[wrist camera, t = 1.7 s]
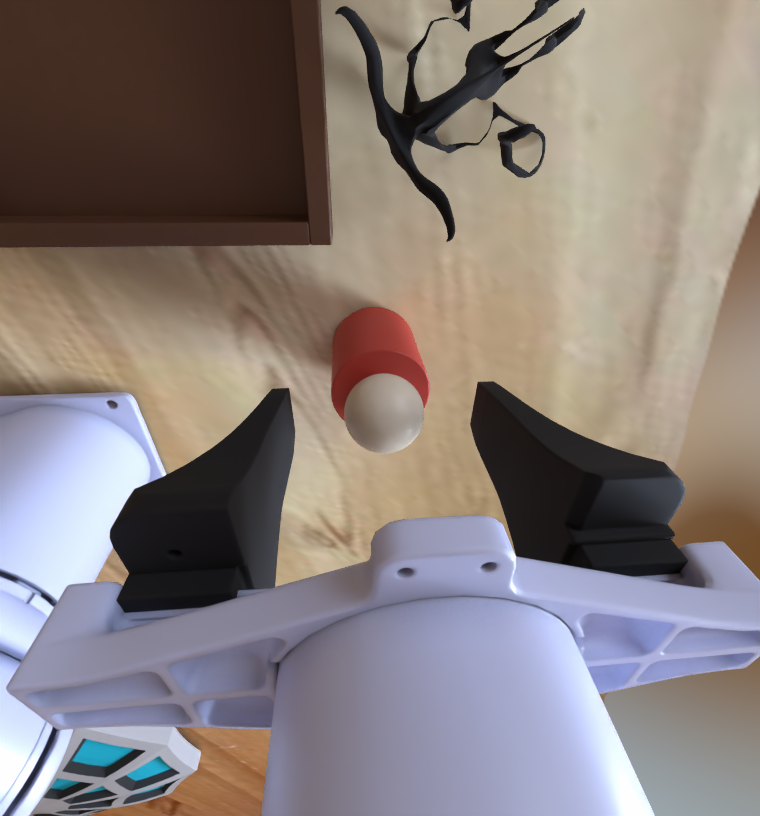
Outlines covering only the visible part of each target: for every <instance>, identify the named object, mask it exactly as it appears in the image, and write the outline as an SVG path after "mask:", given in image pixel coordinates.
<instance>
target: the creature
mask: <svg viewBox="0 0 760 816" xmlns="http://www.w3.org/2000/svg"><path fill="white" fill-rule="evenodd" d="M471 1H472V0H451V3H452V10H453V11H454V12H455V14H456V13H459V12H460V11H461V10H462V9H463V8H464V7H465V6H467V7H466V11H465V15H464V16H463V17H462V18H460V19H459V20H455V19H453V20H455V21H457V22H460V23H461V24H462V25H463V26H464V28H466V29H467V30H468V31H469V29H470V7H471ZM558 1H559V0H537V1H536V2H535V9H534V10H533V11H532V13H531V14H530V15H529V16H528V17H527V18H526V19H525V20H524V21H523V22H522V23H520V24H519V25H518V26H517V27H516V28H514V29H513V30H511V31H504V32H502V33H500V34H498V35H495V36H493V37H491V38H489V39H486V40H484V41H481V42H479V43H477V44H475V45H474V46H473V47H472V49H471V50H470V51H469V53H468V56H467V58H466V63H465V66H466V74H465V76H464V77H463V78H462V79H461V80H460V82H459V83H458V84H457V85H456V86H454V87H453V88H451V89H450V90H448V91H447V92H445V93H443V94H441V95H439V96H437V97H435V98H433V99H431V100H429V101H425V102H421V101H420V98H419V96H418V94H417V91H416V88H415V84H414V68H415V64H416V60H417V54H418V52H419V51H420V49H421V47H422V46H423V44H424V42H425V41H426V38H427V35H428V32H429V30H430V27H431V25H432V24H433V23H434V21H439V20H444V19H451V18H448V17H442V18H439V19H437V20H434V21H431V22H430V24H429V27H428V29H427V32H426V34H425V36H424V38H423V39H422V40H421V41H420V42H419V43H418V44H417V45H416V46H415V47H414V48H413V49H412V50H411V51H410V52H409V54H408V56H407V61H408V62H409V70H408V78H407V85H406V91H405V98H404V109H403V113H402V114H401V113H399V112H397V111H395V110H394V109H393V108H392V107H391V106H390V105H389V104H388V102H387V101H386V99H385V97H384V92H383V68H382V60H381V55H380V51H379V49H378V46H377V43H376V40H375V39H374V37H373V36H372V34H371V33H370V31H369V29H368V28H367V26H366V25H365V23H364V22H363V21H362V20H361V18H360V17H359V16H358V15H357V13H356V12H355V11H353V10H352V9H350V8H348V7H347V6H343V7H340V8H339V9H338V10H337V11H336V13H335V14H341V15H343V16H344V17H345V18H346V19H347V20H348V21H349V23H350V24H351V26H352V27H353V29H354V30H355V32H356V34H357V36H358V38H359V40H360V42H361V44H362V47H363V50H364V52H365V55H366V60H367V74H368V84H369V88H370V92H371V95H372V99H373V103H374V107H375V111H376V118H377V126H378V129H379V131H380V133H381V134H382V136H384V137H385V138H386V139H387V141H388V143H389V145H390V149H391V153H392V155H393V157H394V159H395V160H396V162H397V163H398V164H399V165H400V166H401V167H402V168H403V169H404V170H405V171H406V172H407V174H408V175H409V177H410V178H411V180H412V182H413V183H414V184H415V186H416V187H417V189H418V190H419V191H420V192H421V193H423V194H424V195H425V196H426V197H427V198H429V199H430V200H431V201H432V202H433V203H434V204H435V205H436V207H437V208H438V210H439V211H440V213H441V215H442V217H443V219H444V222H445V224H446V227H447V232H448V239H447V242H448V241H450V240H452V239H453V237H454V234H455V224H454V218H453V214H452V211H451V207H450V204H449V201H448V198H447V197H446V195H445V194H444V192H443V191H442V190H441V189H440V188H439V187H438V186H437V185H435V184H434V183H432V182H431V181H430V180H428V179H427V178H425V177H424V176H423V175H422V174H421V173H420V172H419V170H418V169H417V167H416V165H415V163H414V161H413V158H412V155H411V147H412V145H413V142H414V140H415V139H416V140H419V141H421V142H423V143H424V144H427V145H430V146H432V147H435V148H437V149H440V150H443V151H446V152H447V153H451V152H453V151H455V150H457V149H459V148H462V147H464V146H467V145H479V143H480V142H481V141H482V140H483V139H484V138H485V137H486V135H487V133H488V132H487V133H486V134H485V136H484V137H483V138H482V140H481V141H480V142H479V143H458V144H453V145H451V144H450V145H448V146H445V145H442V144H441V143H440V142H439V140H438V139H437V137H436V135H435V131H436V130H437V128H438V127H439V126H440V125H441V124H442V123H443V122H444V121H445V120H447V119H448V118H449V117H450V116H451V115H452V114H453V113H455V112H456V111H457V110H458V109H460V108H461V107H462V106H463V105H465V104H466V103H468V102H469V101H470V100H472V99H474V98H475V97H477V98H478V99H480V100H486V99H488V98H490V97H492V96H493V95H494V94H495V93H496V92H497V91H498V89H499V88H500V87H501V86H502V85H503V84H504V83H505V82H507V81H508V80H510V79H511V78H512V77H514V76H515V75H516V74H517V73H518V72H519V70H520V69H521V67H522V66H523V65H525V64H527V63H529V62H531V61H532V60H534V59H536V58H538V57H540V56H543V55H546V54H548V53H550V52H551V51H552V50H553V49H554V48H555V47H556V46H558V45H559V44H560V43H561V42H563V41H564V40H565V39H566V38H567V37H568V36H569V35H570V34H571V33H573V32H574V31H575V30H576V29H577V28H578V27H579V26H580V24H581V21H582V19H583V16H584V14H585V10H584V8H583V9H582V10H581V11H580V12H579V15H578V16H577V17H576V18H575V19H574V17H573V18H572V19H570V20H569V21H567V22H565V23H564V24H562V25H561V26H559V27H558V28H556V29H555V30H553V31H551V32H550V33H548V34H547V35H545V36H543V37H542V38H540V39H538V40H537V41H535V42H534V43H532V44H530V45H529V46H527V47H525V48H524V49H522V50H523V51H522V50H520V51H518V52H516V53H513V54H511V55H509V56H506V57H503V56H500V55H498V54H497V53H496V52H495V51H494V50H496V49H497V48H498V47H499V46H500V45H501V44H502V43H504V42H505V40H506V39H507V38H509V37H510V36H511V35H512V34H513V33H514V32H515V31H516V30H518V29H519V28H521V27H523V26H524V25H526V24H528V23H530V22H532V21H534V20H536V19H538V18H539V17H541V16H542V15H543V14H545V13H546V12H547V10H548V8H549V7H551V6H552V5H553V4H555V3H556V2H558ZM562 26H563V27H562ZM559 28H560V29H559ZM558 29H559V30H558ZM556 30H557V31H556ZM555 31H556V32H555ZM553 32H555V33H553ZM552 33H553V34H552ZM550 34H552V35H551V36H549V35H550ZM547 36H549V37H548V38H547V39H546V41H545V45H544V46H543V47H542V48H541V49H540V50H539V51H538V52H537V53H536V54H535V55H534V56H533V57H531V58H530V59H529V60H527V61H526V62H524V63H522V64H520V65H517V66H514V67H510V68H506V69H504V67H505V65H506V64H507V63H508V62H510V61H511V60H513V59H514V58H515V57H517V56H518V55H520V54H521V53H523V52H524V51H526V50H527V49H529V48H530V47H532V46H533V45H535V44H536V43H538V42H539V41H541V40H542V39H544V38H546V37H547ZM498 116H502V117H504V118H506V119H508V120H510V121H511V122H513V123H515V124H516V125H518V127H515V128H513V129H510V130H509V131H506V132H500V133H498V140H499V141H500V147H501V158H502V164H503V166H504V167H506V168H507V169H508V170H510V171H511V172H512V173H514V174H515V175H516V176H518V177H522V178H526V177H530V176H532V175H533V174H535V173H536V172H537V170H538V169H539V167H540V166H541V163H542V161H543V158H544V153H545V136H544V134H543V133H542V132H541V131H540V130H539V129H536V127H535V125H534V124H523V123H521V122H518V121H516V120H514V119H513V118H511V117H510V116H509V115H508V114H506V113H505V112H504V111H503V110H502V109H500V108H499V107H498V105H497V104H496V103H495V102H493V118H492V121H493V120H494V119H495V118H496V117H498ZM491 124H492V122H491ZM490 127H491V125H490ZM489 129H490V128H489ZM488 131H489V130H488ZM531 132H535V133H538V134H539V136H540V137H541V139H542V142H543V146H542V156H541V159H540V162H539V164H538V166H536V167H535V168H534V169H533V170H532V171H531V172H530V173H528V172H527V171H525V170H524V169H522V168H521V167H519V166H518V165H516V164H515V163H513V159H512V144H511V142H516V141H517V140H518V139H522V138H524V137H526V136H527V135H528V134H530V133H531Z"/></svg>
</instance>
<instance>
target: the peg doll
mask: <svg viewBox="0 0 760 816" xmlns="http://www.w3.org/2000/svg"><path fill="white" fill-rule="evenodd" d="M429 393H430V384H429V379H428V376H427V373H426V370H425V367H424V364H423V362H422V359H421V356H420V353H419V351H418V348H417V345H416V342H415V339H414V337H413V334H412V331H411V329H410V327H409V325H408V324H407V322H406V321H405V320H404V319H403V318H402V317H401V316H399V315H398V314H396V313H395V312H393V311H390V310H387V309H384V308H374V307H373V308H365V309H361V310H358V311H356V312H354V313H352V314H351V315H349V316H348V317H346V318H345V319H344V320H343V321H342V322H341V324H340V325H339V327H338V328H337V330H336V332H335V335H334V338H333V352H332V384H331V397H332V402H333V405H334V408H335V410H336V411H337V413H338V414H339V416H340V417H341V418H342V419H343V420H344V421H345V424H346V427H347V429H348V431H349V433H350V435H351V436H352V438H353V439H354V440H355V441H356V442H357V443H358V444H359V445H360V446H362V447H363V448H365V449H367V450H369V451H372V452H376V453H392V452H396V451H399V450H401V449H403V448H405V447H407V446H408V445H409V444H410V443H412V442H413V440H414V439H415V438H416V437H417V435H418V434H419V432H420V430H421V428H422V425H423V420H424V408H425V406H426V404H427V401H428V398H429Z"/></svg>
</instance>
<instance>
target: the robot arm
mask: <svg viewBox="0 0 760 816" xmlns="http://www.w3.org/2000/svg"><path fill="white" fill-rule="evenodd" d="M110 400H112V401H114V402H116V404H113V403H111V402H110ZM470 425H471V429H472V433H473V437H474V440H475V443H476V446H477V449H478V451H479V453H480V456H481V458H482V460H483V462H484V465H485V467H486V469H487V471H488V473H489V476H490V478H491V480H492V482H493V484H494V487H495V489H496V491H497V494H498V496H499V499H500V502H501V505H502V508H503V511H504V514H505V517H506V521H507V524H508V528H509V531H510V534H511V538H512V541H513V545H514V549H515V553H516V556H515V554H514V551H513V549H512V546H511V544H510V541H509V539H508V537H507V534H506V532H505V529H504V527H503V524H501V523H500V522H499V521H497V520H496V519H495V518H493V517H488V516H480V515H466V516H449V517H432V518H414V519H402V520H398V521H394V522H389V523H388V524H386V525H385V526H383V527H382V528H381V529H379V530H378V531H376V532H375V534H374V537H373V539H372V542H371V556H370V560H369V561H366V562H362V563H359V564H355V565H352V566H348V567H345V568H341V569H338V570H334V571H331V572H327V573H324V574H320V575H316V576H313V577H309V578H306V579H302V580H299V581H295V582H292V583H288V584H285V585H281V586H278V587H275V579H276V565H277V553H278V541H279V531H280V521H281V511H282V505H283V500H284V495H285V491H286V486H287V482H288V477H289V473H290V468H291V463H292V459H293V454H294V442H295V426H294V419H293V412H292V405H291V398H290V391H289V388H280V389H272V390H271V391H270V392H269V393H268V394H267V395H266V397H265V398H264V399H263V400H262V401H261V402H260V404H259V405H258V406H257V407H256V408H255V409H254V410H253V412H252V413H251V414H250V415H249V416H248V417H247V418H246V419H245V420H244V421H243V422H242V423H241V424H240V425H239V426H238V427H237V428H236V429H235V430H234V431H233V432H232V433H231V434H229V435H228V436H227V437H226V438H225V439H223V440H222V441H221V442H219V443H218V444H217V445H216V446H214V447H213V448H211V449H210V450H208V451H207V452H205V453H204V454H202V455H201V456H199V457H198V458H196V459H195V460H193V461H191V462H190V463H188V464H186V465H184V466H183V467H181V468H179V469H177V470H175V471H173V472H171V473H169V474H167V475H166V472H165V470H164V467H163V465H162V463H161V460H160V458H159V455H158V453H157V451H156V448H155V446H154V443H153V441H152V438H151V436H150V434H149V431H148V429H147V426H146V424H145V422H144V419H143V417H142V414H141V412H140V410H139V407H138V405H137V402H136V400H135V398H134V397H133V396H132V395H130V394H128V393H126V392H105V393H75V394H46V395H17V396H0V816H29V815H30V814H31V812H32V811H33V810H34V808H35V807H36V805H37V804H38V802H39V801H40V799H41V798H42V796H43V795H44V793H45V791H46V790H47V788H48V786H49V785H50V783H51V781H52V779H53V777H54V776H55V774H56V772H57V770H58V768H59V766H60V763H61V761H62V759H63V757H64V754H65V752H66V749H67V747H68V744H69V741H70V738H71V735H72V732H73V729H82V728H96V727H126V726H149V727H193V728H227V729H260V730H271V736H270V744H269V753H268V762H267V770H266V779H265V787H264V796H263V804H262V813H261V816H655V815H654V813H653V811H652V809H651V807H650V804H649V802H648V800H647V798H646V796H645V793H644V791H643V789H642V787H641V785H640V782H639V780H638V778H637V776H636V774H635V772H634V769H633V767H632V765H631V763H630V761H629V759H628V756H627V754H626V752H625V750H624V748H623V745H622V743H621V741H620V739H619V737H618V734H617V732H616V730H615V728H614V726H613V724H612V721H611V719H610V717H609V715H608V713H607V710H606V708H605V706H604V704H603V702H602V699H601V697H600V695H599V694H602V693H607V692H611V691H615V690H620V689H625V688H629V687H634V686H639V685H643V684H648V683H652V682H657V681H662V680H666V679H672V678H677V677H682V676H687V675H693V674H700V673H706V672H713V671H721V670H729V669H739V668H745V667H747V666H748V665H749V664H751V663H752V662H753V661H754V660H755V659H757V658H758V657H759V656H760V581H759V580H758V579H757V577H756V576H755V575H754V574H753V573H752V572H751V571H750V570H749V569H748V568H747V567H746V566H745V564H743V562H742V561H741V560H740V559H739V558H738V557H737V556H736V555H735V554H734V553H733V552H732V550H731V549H730V548H729V547H728V546H727V545H726V544H725V543H724V542H707V543H691V544H686V545H684V546H682V547H680V548H679V549H678V548H677V546H676V545H675V544H674V543H673V541H672V540H671V539H673V538H674V536H675V534H674V532H673V531H672V529H671V528H670V527H669V526H668V525H667V524H668V523H669V521H670V520H671V518H672V517H673V515H674V514H675V512H676V511H677V509H678V508H679V506H680V505H681V502H682V501H683V499H684V496H685V486H684V484H683V482H682V481H681V479H680V478H679V477H678V476H677V475H676V474H675V473H674V472H673V471H672V470H671V469H670V468H669V467H668V466H667V465H666V464H665V463H664V462H661V461H657V460H653V459H649V458H645V457H641V456H638V455H634V454H630V453H627V452H624V451H621V450H618V449H615V448H612V447H609V446H606V445H603V444H601V443H598V442H596V441H593V440H591V439H588V438H586V437H584V436H581V435H579V434H577V433H575V432H573V431H571V430H569V429H567V428H565V427H563V426H561V425H559V424H557V423H555V422H554V421H552V420H550V419H549V418H547V417H545V416H544V415H542V414H540V413H539V412H537V411H536V410H534V409H533V408H531V407H530V406H528V405H527V404H525V403H524V402H522V401H521V400H520V399H518V398H517V397H515V396H514V395H513V394H511V393H510V392H508V391H507V390H506V389H504V388H503V387H501V386H500V385H498V384H497V383H495V382H478V384H477V389H476V395H475V401H474V406H473V412H472V417H471V423H470ZM112 548H114V549H115V551H116V552H117V554H118V556H119V557H120V559H121V561H122V562H123V564H124V565H125V567H126V569H127V570H128V572H129V575H128V577H127V579H126V581H125V584H124V586H122V585H121V584H118V583H116V582H96V583H94V581H95V580H96V578H97V576H98V574H99V572H100V570H101V569H102V567H103V565H104V563H105V561H106V559H107V557H108V556H109V554H110V552H111V550H112Z"/></svg>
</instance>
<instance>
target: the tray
mask: <svg viewBox="0 0 760 816" xmlns="http://www.w3.org/2000/svg"><path fill="white" fill-rule="evenodd" d="M332 235H333V228H332V209H331V191H330V172H329V153H328V134H327V116H326V97H325V78H324V60H323V41H322V22H321V4H320V0H0V247H128V246H256V245H310V244H311V245H331V244H332Z"/></svg>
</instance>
